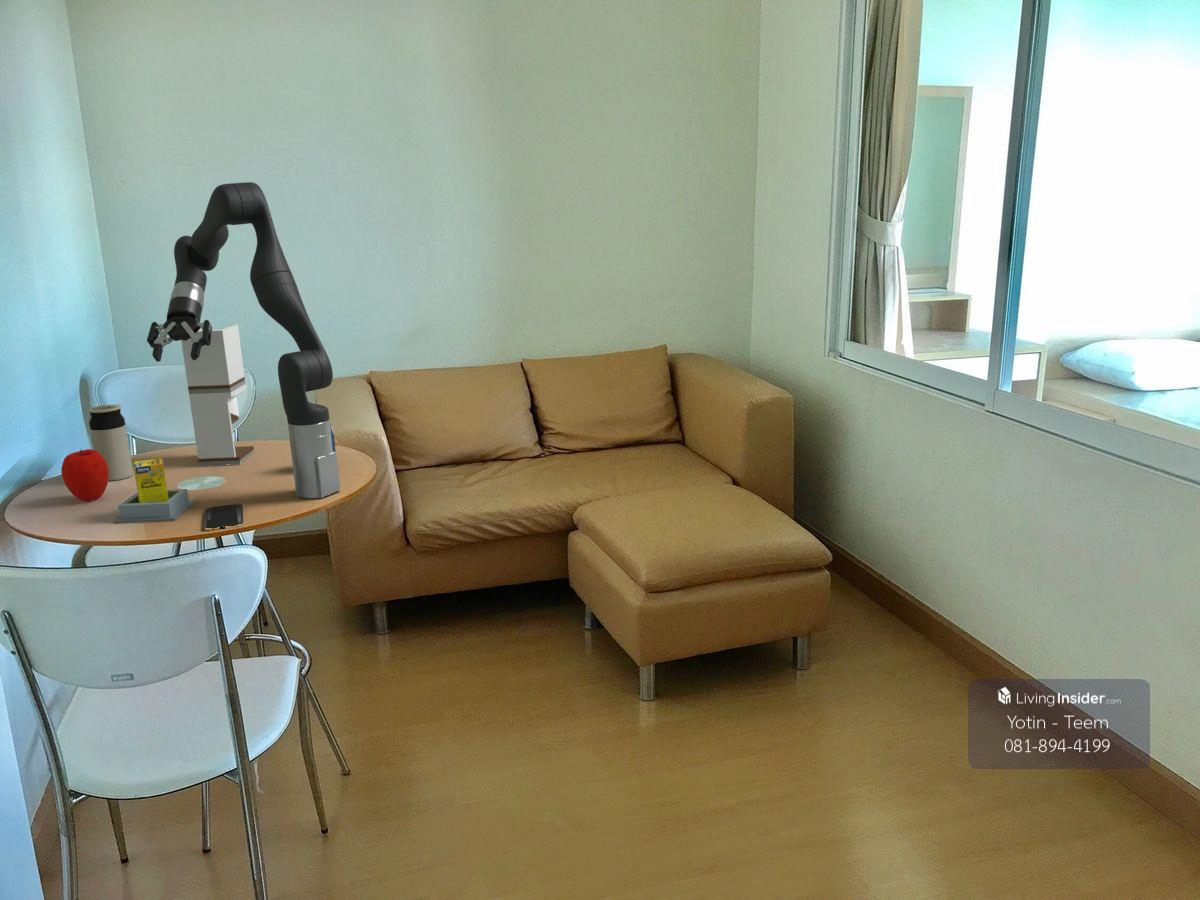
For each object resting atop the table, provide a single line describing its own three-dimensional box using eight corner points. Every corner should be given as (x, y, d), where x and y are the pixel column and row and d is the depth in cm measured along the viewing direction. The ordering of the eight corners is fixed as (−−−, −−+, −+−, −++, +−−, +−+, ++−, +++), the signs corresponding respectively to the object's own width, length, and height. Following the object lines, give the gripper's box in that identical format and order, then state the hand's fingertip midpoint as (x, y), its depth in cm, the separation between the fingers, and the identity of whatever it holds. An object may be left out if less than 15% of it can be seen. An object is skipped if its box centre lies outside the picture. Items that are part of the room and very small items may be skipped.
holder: (195, 502, 227) (193, 487, 226) (174, 520, 215) (171, 504, 214) (138, 504, 227) (136, 489, 226) (113, 523, 214) (110, 507, 213)
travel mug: (116, 482, 246) (105, 411, 241) (91, 480, 248) (79, 410, 243) (140, 473, 253) (129, 404, 248) (115, 472, 255) (104, 403, 251)
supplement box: (171, 510, 219) (163, 463, 217) (141, 515, 217) (133, 467, 214) (168, 503, 225) (161, 457, 222) (139, 508, 222) (132, 461, 219)
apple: (82, 493, 238) (73, 443, 235) (121, 492, 237) (113, 443, 234) (57, 506, 228) (48, 454, 225) (99, 505, 228) (90, 454, 224)
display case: (240, 464, 258) (222, 330, 249) (199, 466, 258) (180, 332, 249) (254, 453, 269) (237, 324, 260) (215, 454, 269) (197, 326, 260)
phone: (242, 503, 223) (242, 522, 209) (242, 507, 223) (243, 527, 209) (204, 508, 220) (202, 528, 207) (205, 512, 221) (203, 533, 207)
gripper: (150, 296, 240) (138, 350, 231) (210, 294, 240) (200, 348, 232) (162, 315, 246) (151, 369, 238) (220, 313, 246) (211, 366, 238)
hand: (175, 359), depth 235 cm, fingers open, 8 cm apart
